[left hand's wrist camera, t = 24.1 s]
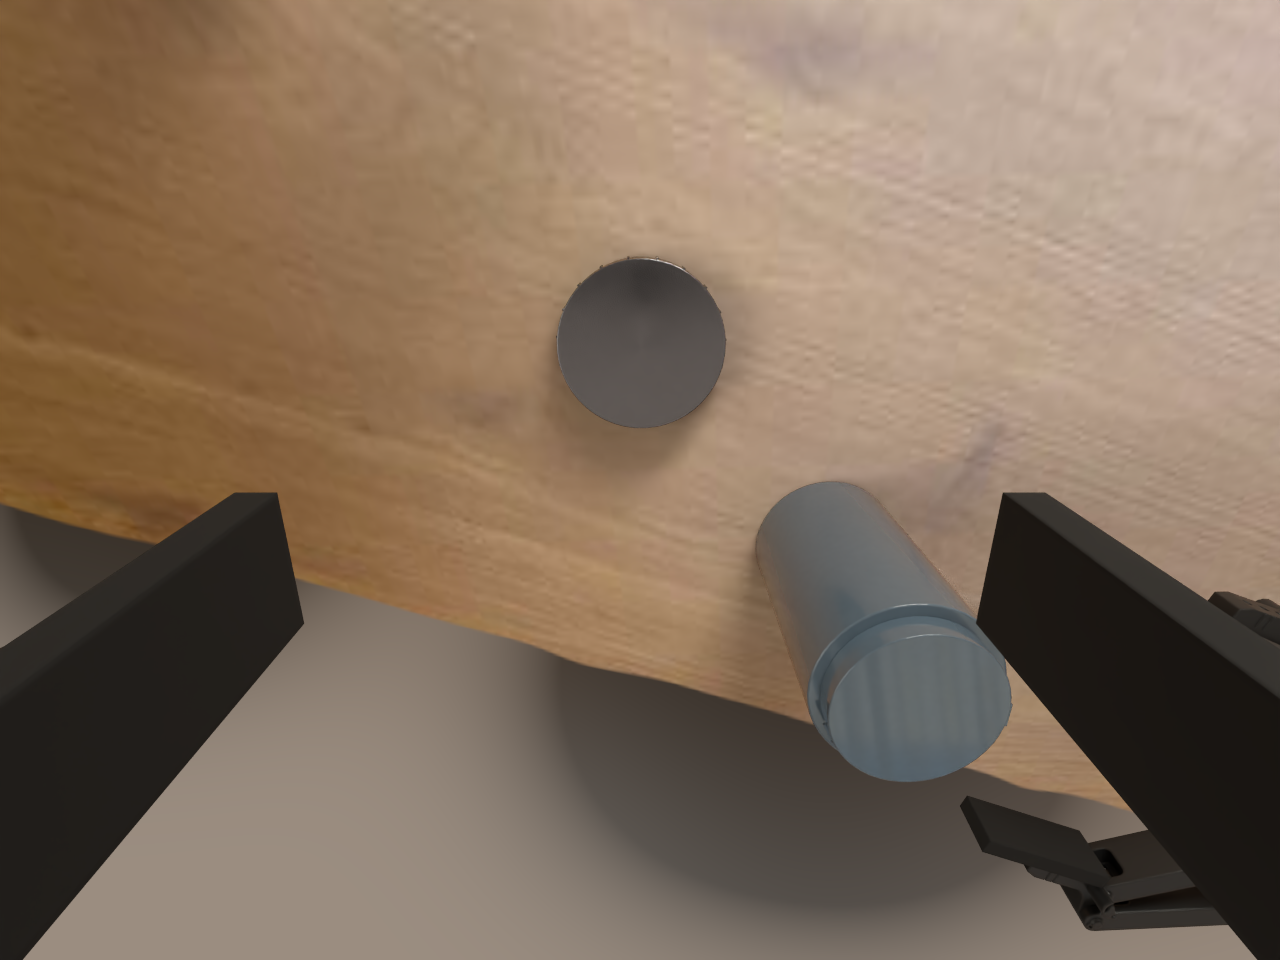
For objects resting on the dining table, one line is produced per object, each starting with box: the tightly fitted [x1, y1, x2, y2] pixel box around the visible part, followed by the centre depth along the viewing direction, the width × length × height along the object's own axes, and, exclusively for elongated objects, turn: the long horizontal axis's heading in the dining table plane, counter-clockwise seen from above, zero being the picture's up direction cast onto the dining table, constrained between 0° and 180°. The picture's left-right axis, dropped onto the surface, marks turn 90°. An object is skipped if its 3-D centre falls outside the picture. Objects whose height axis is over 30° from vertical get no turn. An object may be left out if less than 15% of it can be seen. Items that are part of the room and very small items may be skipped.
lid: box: [556, 256, 726, 428], centre depth 36 cm, size 9×9×2 cm
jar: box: [756, 482, 1013, 782], centre depth 34 cm, size 8×8×15 cm
